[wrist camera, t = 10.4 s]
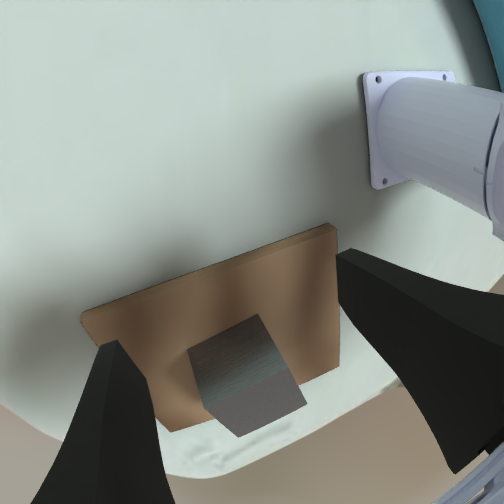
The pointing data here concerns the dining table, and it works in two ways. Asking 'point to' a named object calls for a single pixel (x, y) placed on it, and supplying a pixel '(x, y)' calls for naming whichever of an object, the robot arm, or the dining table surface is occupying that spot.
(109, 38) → the dining table surface
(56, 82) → the dining table surface
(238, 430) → the square cap
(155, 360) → the post board
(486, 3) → the casserole dish
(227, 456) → the dining table surface
